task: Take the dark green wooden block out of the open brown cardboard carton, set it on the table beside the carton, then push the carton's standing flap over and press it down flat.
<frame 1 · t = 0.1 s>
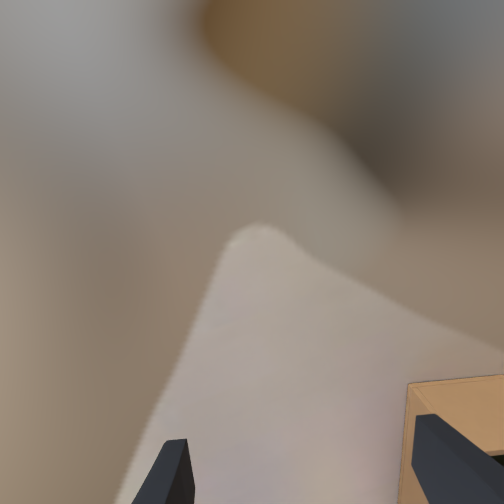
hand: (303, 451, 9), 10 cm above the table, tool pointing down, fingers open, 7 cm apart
carton: (480, 454, 24), on the table
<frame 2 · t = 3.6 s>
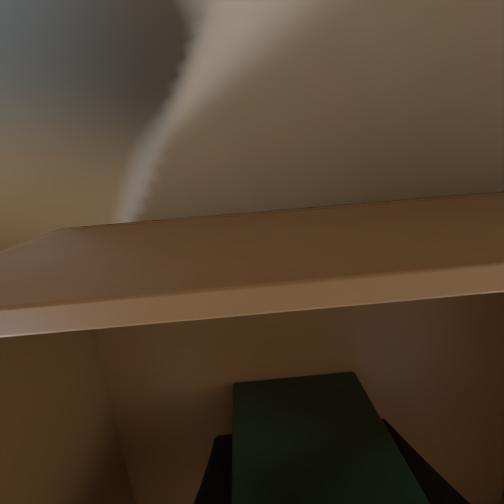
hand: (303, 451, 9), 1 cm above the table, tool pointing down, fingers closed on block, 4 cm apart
block: (296, 425, 10), resting on carton, touching gripper
carton: (321, 389, 10), on the table
when the fingers open (1 cm above the table, at t = 8.6 s): block stays where it is, on the table.
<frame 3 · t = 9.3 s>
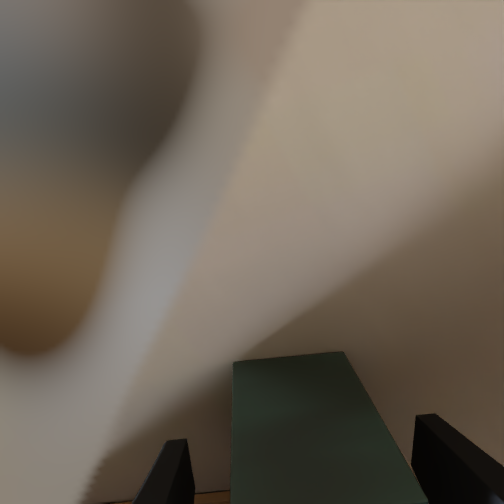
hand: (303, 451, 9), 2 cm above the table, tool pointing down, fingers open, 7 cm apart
block: (290, 401, 11), on the table
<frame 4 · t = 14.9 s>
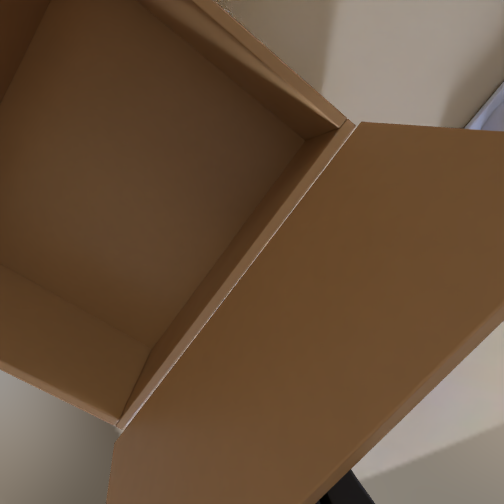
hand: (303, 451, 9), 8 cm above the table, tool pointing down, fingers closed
flap: (246, 375, 8), point 9 cm above the table, hinge at 105.5°
carton: (123, 184, 15), on the table
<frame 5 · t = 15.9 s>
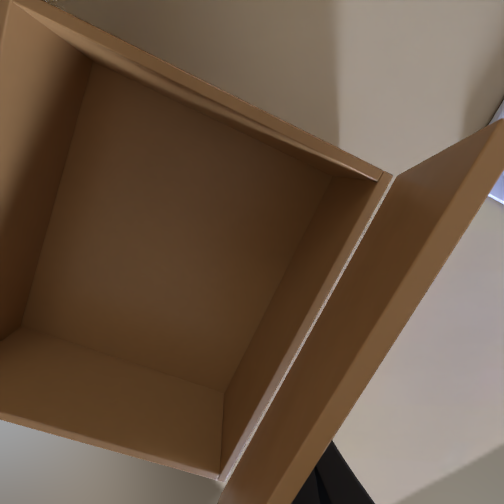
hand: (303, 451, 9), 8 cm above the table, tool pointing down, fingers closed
flap: (287, 416, 8), point 9 cm above the table, hinge at 70.1°, touching gripper
carton: (171, 252, 16), on the table
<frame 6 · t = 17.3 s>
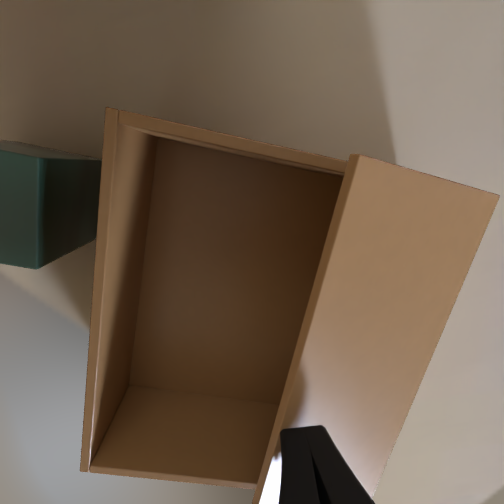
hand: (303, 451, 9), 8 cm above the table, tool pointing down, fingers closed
block: (59, 192, 15), on the table
flap: (359, 391, 10), point 7 cm above the table, hinge at 21.4°, touching gripper
carton: (252, 291, 17), on the table
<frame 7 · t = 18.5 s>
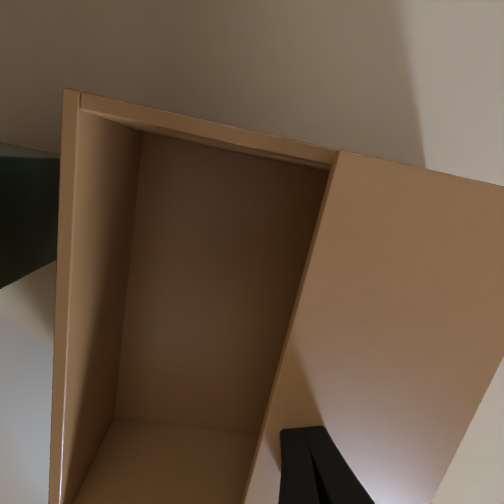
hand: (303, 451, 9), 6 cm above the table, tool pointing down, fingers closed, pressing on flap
block: (27, 197, 13), on the table
flap: (367, 417, 9), point 6 cm above the table, hinge at -1.1°, touching gripper
carton: (255, 311, 15), on the table
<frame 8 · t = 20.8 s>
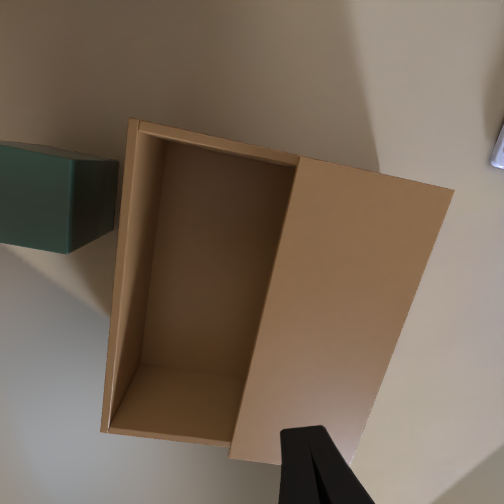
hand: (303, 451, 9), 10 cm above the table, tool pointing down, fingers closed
block: (79, 189, 17), on the table
flap: (326, 338, 13), point 6 cm above the table, hinge at -1.1°
carton: (250, 278, 19), on the table
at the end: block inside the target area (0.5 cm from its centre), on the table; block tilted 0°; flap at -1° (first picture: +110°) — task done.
